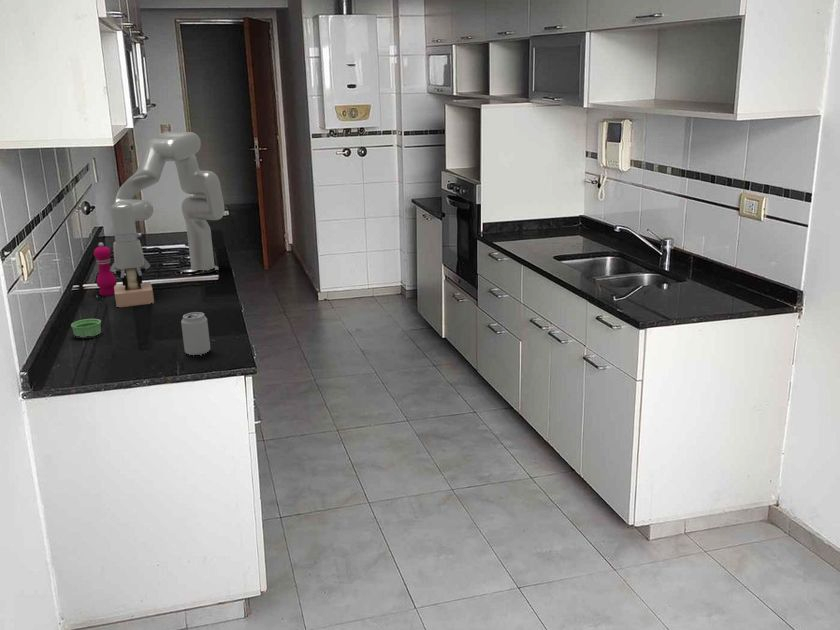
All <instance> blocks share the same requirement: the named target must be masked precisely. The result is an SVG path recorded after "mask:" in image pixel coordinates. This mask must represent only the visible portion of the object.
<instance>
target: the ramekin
mask: <svg viewBox="0 0 840 630" xmlns="http://www.w3.org/2000/svg"><path fill="white" fill-rule="evenodd" d="M101 325H102V320H101V319H98V318H87V319H86V318H85V319H79V320H77V321H74V322H72V323H71V325H70V326H71V328H72V332H73V336H74V335H75V336H80V337H86V336H95V335H98V334H100V333H101V334H102V326H101ZM101 334H100V335H101ZM75 336H74V337H75Z"/></svg>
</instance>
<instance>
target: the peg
mask: <svg viewBox="0 0 840 630" xmlns="http://www.w3.org/2000/svg"><path fill="white" fill-rule="evenodd" d="M137 273H138V272H137V269H136V268H133V269H125V273H124V274H125V276H126V281H127V289H128V290H136V289H139V285H138V277H137V275H138V274H137Z"/></svg>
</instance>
